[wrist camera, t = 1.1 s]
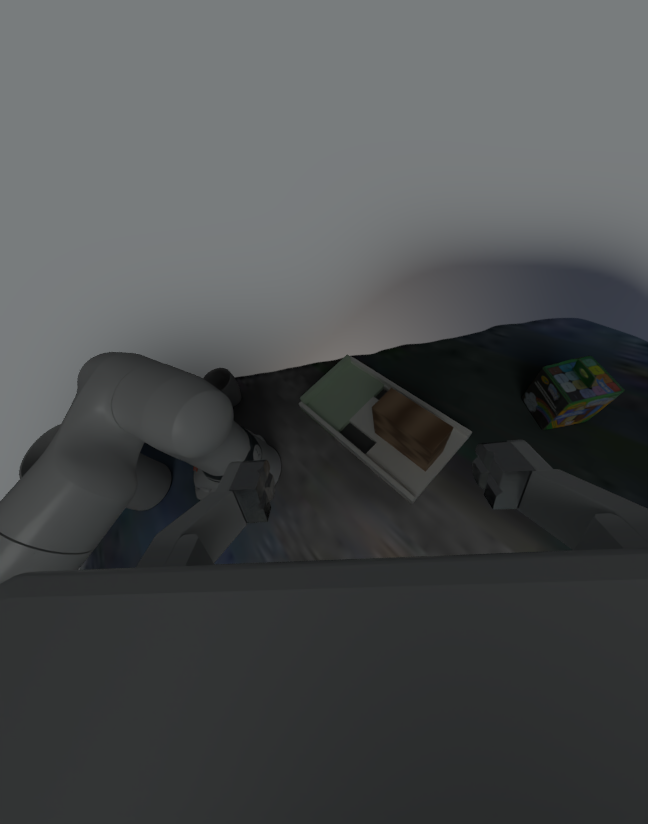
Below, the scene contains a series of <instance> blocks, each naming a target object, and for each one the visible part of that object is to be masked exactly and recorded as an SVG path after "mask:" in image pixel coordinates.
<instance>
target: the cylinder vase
mask: <svg viewBox="0 0 648 824" xmlns="http://www.w3.org/2000/svg"><path fill="white" fill-rule="evenodd" d="M60 426H61V424H60V425H58V426H56V427H54V428H52V429H50V430H49V431H47V432H46V433H44V434H43V435H42V436H41V437H40V438H39V439H38V440H37V441H36V442H35V443H34V444H33V445H32V446H31V447H30V449H29V450H28V452H27V453H26V455H25V456H24V458H23V460H22V463H21V466H20V471H19V475H20V479H21V478H22V477H23V476H24V475H25V473H26V472H27V471H28V470H29V469H30V468H31V467H32V466H33V464H34V463H35V462H36V461H37V460H38V459H39V458H40V456H41V455H42V454H43V452H44V451H45V450H46V448H47V447H48V445H49V444H50V442H51V441H52V439H53V438H54V436H55V434H56V433H57V431H58V429H59V427H60ZM136 475H137V489H136V492H135V495H134V497H133V498H132V499H131V501H130V502H129V503H128V505H127V506H126V508H129V509H134V510H139V511H142V510H147V509H150V508H152V507H154V506H155V505H157V504H158V503H159V502H160V501H161V500H162V499H163V498H164V497H165V495H166V494H167V492H168V490H169V488H170V485H171V472H170V470H169V468H168V467H167V466H166V465H165V464H163V463H160V462H158V461H156V460H154V459H152V458H149V457H147V456H145V455H143V454H141V453H140V454H139V457H138V461H137V466H136Z"/></svg>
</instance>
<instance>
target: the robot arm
mask: <svg viewBox="0 0 648 824" xmlns="http://www.w3.org/2000/svg"><path fill="white" fill-rule="evenodd" d="M77 382H78V389H77V394H76V397H75V399H74V401H73V403H72V405H71V407H70V409H69V411H68V412H67V414H66V416H65V418H64V420H63V422H62V424H61V426H60V427H59V429H58V431H57V433H56V434H55V436H54V438H53V439H52V441H51V442H50V444H49V445H48V447H47V448H46V450H45V451H44V452H43V454H42V455H41V456H40V458H39V459H38V460H37V461H36V462H35V463H34V464H33V466H32V467H31V468H30V469H29V470H28V471H27V472H26V473H25V475H24V476H23V477H22V478H21V479H20V480H19V481H18V482H17V483H16V485H15V486H14V487H13V488H12V489H11V490H10V491H9V492H8V494H6V496H5V497H4V498H3V499H2V500H1V501H0V824H648V509H647V508H645V507H643V506H640V505H638V504H636V503H634V502H631V501H629V500H627V499H624V498H622V497H620V496H618V495H615V494H613V493H611V492H609V491H606V490H604V489H602V488H600V487H597V486H595V485H593V484H591V483H588V482H586V481H584V480H581V479H579V478H577V477H575V476H572V475H570V474H568V473H566V472H563V471H561V470H559V469H553V468H552V467H551V466H550V465H549V464H548V463H547V462H546V461H545V460H544V459H543V458H542V457H541V456H540V455H539V454H538V453H537V452H536V451H535V450H534V449H533V448H532V447H531V446H530V445H529V444H528V443H527V442H526V441H524V440H512V441H504V442H492V443H480V444H478V445H477V447H476V451H475V452H476V454H477V455H478V457H477V458H476V459H475V460H474V461H473V466H472V470H473V476H474V479H475V481H476V483H477V484H478V486H480V487H482V488H483V489H485V492H484V496H485V498H486V499H487V501H488V503H489V504H490V506H491V507H492V509H518V510H519V511H520V512H522V513H523V514H524V515H526V516H527V517H529V518H530V519H531V520H533V521H534V522H535V523H537V524H538V525H540V526H541V527H542V528H544V529H545V530H546V531H548V532H549V533H551V534H552V535H553V536H555V537H556V538H557V539H559V540H560V541H562V542H563V543H564V544H566V545H567V546H568V547H570V548H571V549H573V550H572V551H547V552H522V553H496V554H471V555H446V556H421V557H396V558H371V559H345V560H320V561H294V562H268V563H243V564H218V565H215V564H214V563H215V561H216V560H217V559H218V558H219V557H220V555H221V554H222V553H223V552H224V551H225V550H226V548H227V547H228V546H229V545H230V544H231V542H232V541H233V540H234V539H235V538H236V537H237V535H238V534H239V533H240V532H241V531H242V530H243V528H244V527H245V526H246V525H247V524H246V523H257V522H268V518H269V514H270V510H271V505H270V501H271V500H272V499H273V498H274V493H275V484H276V483H277V481H278V479H279V476H280V472H281V460H280V457H279V455H278V453H277V452H276V450H275V449H274V448H272V447H271V446H269V445H268V444H267V443H266V442H265V440H264V438H263V437H262V436H260V435H255V434H253V433H252V432H250V431H249V430H247V429H245V428H244V427H242V426H239V425H238V424H237V423H236V422H235V421H234V420H233V418H234V413H233V406H232V403H231V401H230V400H229V398H228V397H227V396H226V395H225V394H224V393H223V392H221V391H220V390H219V389H217V388H216V387H215V386H213V385H212V384H210V383H209V382H207V381H206V380H204V379H203V378H201V377H198V376H196V375H193V374H191V373H188V372H185V371H183V370H180V369H178V368H175V367H172V366H170V365H167V364H163V363H160V362H158V361H155V360H153V359H150V358H147V357H145V356H142V355H139V354H134V353H122V352H109V353H103V354H100V355H97V356H95V357H93V358H91V359H90V360H89V361H87V362H86V363H85V364H84V366H83V367H82V369H81V370H80V372H79V375H78V381H77ZM144 442H145V443H147V444H149V445H150V446H152V447H154V448H156V449H158V450H160V451H162V452H164V453H166V454H168V455H170V456H173V457H175V458H177V459H180V460H182V461H185V462H187V463H189V464H191V465H193V466H194V468H193V470H194V484H195V490H196V496H197V498H198V499H199V500H201V501H199V502H198V503H197V504H196V505H194V506H193V507H192V508H190V509H189V510H188V511H186V512H185V513H184V514H183V515H181V516H180V517H179V518H177V519H176V520H175V521H174V522H172V523H171V524H170V525H168V526H167V527H166V528H165V529H163V530H162V531H161V532H159V533H158V534H157V535H156V536H155V538H154V539H153V541H152V542H151V544H150V546H149V547H148V549H147V550H146V552H145V554H144V555H143V557H142V558H141V560H140V562H139V563H138V565H137V566H136V568H118V569H92V570H78V569H79V568H80V567H81V565H82V564H83V563H84V562H85V560H86V559H87V558H88V557H89V555H90V554H91V553H92V551H93V550H94V549H95V548H96V546H97V545H98V544H99V542H100V541H101V540H102V538H103V537H104V536H105V534H106V533H107V532H108V530H109V529H110V528H111V526H112V525H113V524H114V522H115V521H116V520H117V518H118V517H119V516H120V514H121V513H122V512H123V510H124V509H125V508H126V506H127V505H128V503H129V502H130V501H131V499H132V498H133V497H134V495H135V492H136V489H137V475H136V466H137V461H138V457H139V454H140V451H141V449H142V447H143V445H144ZM199 488H200V489H199Z"/></svg>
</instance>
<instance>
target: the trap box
mask: <svg viewBox="0 0 648 824" xmlns="http://www.w3.org/2000/svg"><path fill="white" fill-rule="evenodd" d="M390 388H393V389H394V390H396V391H398V392H399V393H401V394H402V395H404V396H405V397H407V398H409V399H410V400H412V401H413V402H415V403H416V404H418V405H419V406H421V407H423V408H424V409H426V410H427V411H429V412H430V413H432V414H434V415H435V416H437V417H438V418H440V419H441V420H443V421H445V422H446V423H448V424H449V425H451V426H452V427H454V428H453V430H452V432H451V435H450V437H449V439H448V441H447V444H446V446H445V448H444V450H443V452H442V453H441V455H440V456H439V457H438V458H437V459H436V460H435V461H434V463H433V464H432V465H431V466H430V467H429V468H428V470H427V471H426V472H425V471H424V470H423V469H421V468H420V467H419V466H417V465H416V464H415V463H413V462H412V461H411V460H410V459H408V458H407V457H406V456H404V455H403V454H402V453H400V452H399V451H398V450H397V449H395V448H394V447H393V446H391V445H390V444H389V443H388V442H386V441H385V440H384V439H382V438H381V437H380V436H378V435H377V434H376V433H375V430H374V422H373V414H372V406H373V405H374V404H375V403H376V402H377V401H378V400H379V399H380V398H381V397H382V396H383V395H384V394H385V393H386V392H387V391H388V390H389V389H390ZM300 400H301V402H300V403H299V406H300V407H301V409H302V410H303V411H304V412H305V413H306V414H308V415H309V416H310V417H311V418H312V419H313V420H315V421H316V422H317V423H318V424H319V425H320V426H321V427H323V428H324V429H325V430H326V431H327V432H328V433H330V434H331V435H332V436H333V437H334V438H335V439H336V440H338V441H339V442H340V443H341V444H342V445H343V446H345V447H346V448H347V449H348V450H349V451H350V452H352V453H353V454H354V455H355V456H356V457H357V458H358V459H360V460H361V461H362V462H363V463H364V464H365V465H367V466H368V467H369V468H370V469H371V470H372V471H373V472H375V473H376V474H377V475H378V476H379V477H380V478H382V479H383V480H384V481H385V482H386V483H387V484H389V485H390V486H391V487H392V488H393V489H394V490H395V491H397V492H398V493H399V494H400V495H401V496H402V497H404V498H405V499H406V500H407V501H408V502H409V503H410V504H413V502H414V501H415V500H416V499H417V498H418V497H419V495H420V494H421V493H422V492H423V491H424V489H425V488H426V487H427V486H428V485H429V484H430V482H431V481H432V480H433V479H434V478H435V477H436V475H437V474H438V473H439V472H440V471H441V470H442V468H443V467H444V466H445V465H446V464H447V463H448V461H449V460H450V459H451V458H452V457H453V456H454V454H455V453H456V452H457V451H458V450H459V449H460V447H461V446H462V445H463V444H464V443H465V441H466V440H467V439H468V438H469V436H470V435H471V433H472V431H470V430H468V429H467V428H465V427H464V426H462V425H460V424H459V423H457V422H456V421H454V420H452V419H451V418H449V417H448V416H446V415H444V414H443V413H441V412H440V411H438V410H436V409H435V408H433V407H432V406H430V405H428V404H427V403H425V402H424V401H422V400H420V399H419V398H417V397H416V396H414V395H412V394H411V393H409V392H408V391H406V390H404V389H403V388H401V387H400V386H398V385H396V384H395V383H393V382H392V381H390V380H388V379H387V378H385V377H384V376H382V375H380V374H379V373H377V372H376V371H374V370H372V369H371V368H369V367H368V366H366V365H364V364H363V363H361V362H360V361H358V360H356V359H355V358H353V357H352V356H349V355H346V356H345V357H344V358H343V359H342V360H341V361H340V362H339V363H338V364H336V365H335V366H334V367H333V368H332V369H331V370H330V371H329V372H328V373H327V374H325V375H324V376H323V377H322V378H321V379H320V380H319V381H318V382H317V383H316V384H315V385H313V386H312V387H311V388H310V389H309V390H308V391H307V392H306V393H305V394H304V395H302V396H301V397H300Z"/></svg>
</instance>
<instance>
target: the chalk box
mask: <svg viewBox="0 0 648 824" xmlns="http://www.w3.org/2000/svg"><path fill="white" fill-rule="evenodd" d="M624 391H625V390H624V389H623V388H622V387H621V386H620V385H619V384H618V383H617V382H616V381H615V379H614V378H613V377H612V376H611V375H610V374H609V373H608V372H607V371H606V370H605V369H604V368H603V367H602V366H601V365H600V364H599V363H598V362H597V361H596V360H595V359H594V358H593V357H592V356H586V357H581V358H576V359H572V360H567V361H563V362H560V363H556V364H552V365H548V366H544V367H543V368H542V369H541V371H540V372H539V373H538V375H537V376H536V378H535V379H534V380H533V382H532V383H531V385H530V386H529V387H528V389H527V390H526V392H525V393H524V395H523V396H522V397H521V398H522V400H523V401H524V403H525V404H526V406H527V407H528V409H529V410H530V412H531V414H532V415H533V417H534V418H535V420H536V421H537V423H538V425H539V426H540V428H541V429H542V430H547V429H552V428H557V427H563V426H568V425H573V424H577V423H582V422H587V421H588V420H589V419H591V418H592V417H593V416H594V415H595V414H597V413H598V412H599V411H600V410H602V409H603V408H604V407H605V406H606V405H608V404H609V403H610V402H611V401H613V400H614V399H615V398H616V397H617V396H619V395H620V394H621V393H623V392H624Z"/></svg>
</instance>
